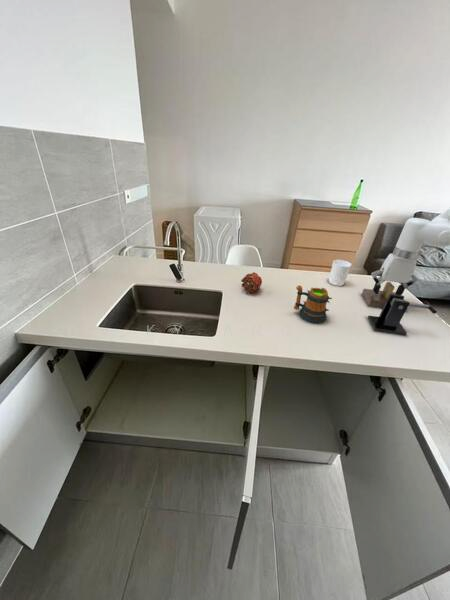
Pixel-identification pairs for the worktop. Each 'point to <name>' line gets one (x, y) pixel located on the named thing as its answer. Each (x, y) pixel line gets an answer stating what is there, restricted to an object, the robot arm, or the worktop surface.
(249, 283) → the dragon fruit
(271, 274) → the worktop surface
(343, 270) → the white cup
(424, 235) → the robot arm
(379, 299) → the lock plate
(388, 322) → the handle bracket
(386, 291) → the tall mustard panel
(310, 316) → the mug
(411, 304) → the door lever
